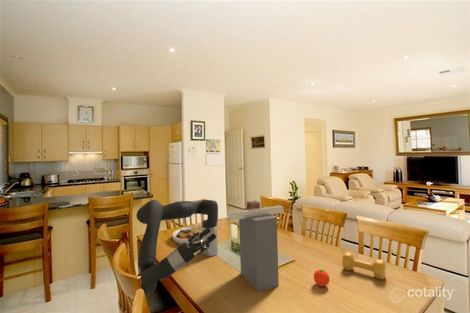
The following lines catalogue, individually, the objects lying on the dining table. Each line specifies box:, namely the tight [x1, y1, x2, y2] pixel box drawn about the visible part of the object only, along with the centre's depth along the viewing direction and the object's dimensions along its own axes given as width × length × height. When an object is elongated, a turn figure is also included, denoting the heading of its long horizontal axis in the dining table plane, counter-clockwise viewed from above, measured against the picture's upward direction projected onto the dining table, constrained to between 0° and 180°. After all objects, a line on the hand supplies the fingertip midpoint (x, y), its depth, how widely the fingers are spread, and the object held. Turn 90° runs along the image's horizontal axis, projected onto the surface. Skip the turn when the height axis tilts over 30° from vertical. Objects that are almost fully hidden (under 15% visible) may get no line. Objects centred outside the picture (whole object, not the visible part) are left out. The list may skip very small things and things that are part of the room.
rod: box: [227, 204, 284, 221], centre depth 115 cm, size 3×28×3 cm, turn 113°
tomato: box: [313, 268, 330, 287], centre depth 112 cm, size 8×7×7 cm
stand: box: [238, 214, 280, 293], centre depth 118 cm, size 18×11×32 cm, turn 23°
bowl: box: [172, 225, 203, 245], centre depth 177 cm, size 30×30×8 cm
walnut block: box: [246, 200, 261, 210], centre depth 123 cm, size 5×5×5 cm
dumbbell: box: [341, 251, 387, 281], centre depth 121 cm, size 19×9×8 cm, turn 49°
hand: (212, 232), depth 106 cm, fingers open, 8 cm apart
